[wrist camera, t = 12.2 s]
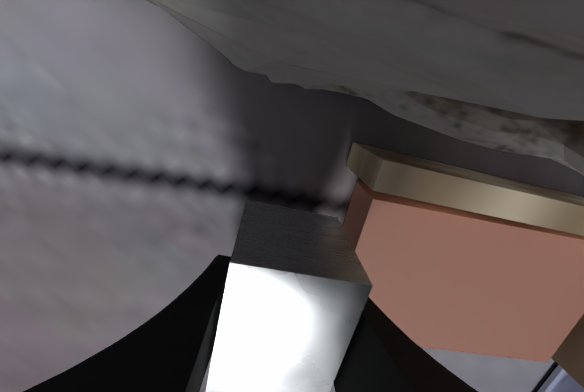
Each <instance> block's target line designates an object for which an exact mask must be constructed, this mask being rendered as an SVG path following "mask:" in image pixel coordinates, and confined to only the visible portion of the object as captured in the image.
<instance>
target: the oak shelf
mask: <svg viewBox="0 0 584 392" xmlns="http://www.w3.org/2000/svg"><path fill="white" fill-rule="evenodd" d="M346 166H347V167H349V168H350V169H351V170H352V171H353V172H354V173H355V174H356V175H357V176H358V177H359V178H360V179H361V180H362V181H363V182H364V183H365V184H366V185H367V186H368V187H369V188H370V189H371V190H372V191H377V192H381V193H386V194H391V195H395V196H400V197H405V198H409V199H414V200H419V201H423V202H428V203H433V204H437V205H442V206H446V207H451V208H456V209H460V210H465V211H470V212H474V213H479V214H484V215H488V216H493V217H498V218H502V219H507V220H512V221H516V222H521V223H526V224H530V225H535V226H540V227H544V228H549V229H554V230H558V231H563V232H568V233H572V234H577V235H582V236H584V197H581V196H577V195H573V194H569V193H565V192H561V191H556V190H552V189H548V188H544V187H540V186H535V185H531V184H527V183H523V182H519V181H514V180H510V179H506V178H502V177H498V176H493V175H489V174H485V173H481V172H477V171H472V170H468V169H464V168H460V167H456V166H452V165H447V164H443V163H439V162H435V161H431V160H426V159H422V158H418V157H414V156H410V155H405V154H401V153H397V152H393V151H389V150H384V149H380V148H376V147H372V146H368V145H363V144H359V143H355V142H353V144H352V147H351V150H350V153H349V157H348V160H347V163H346ZM551 358H552V359H553V360H554V361H555V362H556V363H557V364H558V365H559V366H561V367H562V368H563V369H564V370H565V371H566V372H567V373H568V374H569V375H570V376H571V377H572V378H573V379H574V380H575V381H576V382H577V383H579V384H580V385H581V386H582V387H583V388H584V314H583V315H582V317H581V318H580V319H579V321H578V322H577V323H576V325H575V326H574V327H573V329H572V330H571V331H570V333H569V334H568V335H567V337H566V338H565V340H564V341H563V342H562V344H561V345H560V346H559V348H558V349H557V350H556V352H555V353H554V354H553V356H552V357H551Z"/></svg>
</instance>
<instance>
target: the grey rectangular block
mask: <svg viewBox="0 0 584 392" xmlns="http://www.w3.org/2000/svg"><path fill="white" fill-rule="evenodd" d="M372 287H373V285H372V283H371V281H370V279H369V277H368V275H367V273H366V271H365V270H364V268H363V266H362V264H361V262H360V260H359V258H358V256H357V254H356V252H355V250H354V248H353V246H352V244H351V243H350V241H349V239H348V237H347V235H346V233H345V231H344V229H343V227H342V225H341V223H340V221H339V219H338V217H332V216H327V215H322V214H317V213H312V212H307V211H302V210H297V209H291V208H286V207H281V206H276V205H271V204H266V203H261V202H256V201H251V200H246V203H245V207H244V211H243V214H242V218H241V222H240V226H239V229H238V233H237V237H236V241H235V245H234V248H233V252H232V256H231V260H230V264H229V269H228V274H227V280H226V285H225V290H224V296H223V301H222V307H221V312H220V317H219V323H218V328H217V333H216V339H215V344H214V349H213V355H212V360H211V366H210V371H209V376H208V382H207V387H206V392H330V389H331V387H332V384H333V382H334V380H335V377H336V375H337V372H338V370H339V367H340V365H341V362H342V360H343V358H344V355H345V353H346V350H347V348H348V345H349V343H350V340H351V338H352V336H353V333H354V331H355V328H356V326H357V323H358V321H359V318H360V316H361V313H362V311H363V309H364V306H365V304H366V301H367V299H368V296H369V294H370V291H371V289H372Z"/></svg>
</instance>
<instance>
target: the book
mask: <svg viewBox="0 0 584 392" xmlns="http://www.w3.org/2000/svg"><path fill="white" fill-rule="evenodd" d="M342 227H343V229H344V231H345V233H346V235H347V237H348V239H349V241H350V243H351V244H352V246H353V248H354V250H355V252H356V254H357V256H358V258H359V260H360V262H361V264H362V266H363V268H364V270H365V271H366V273H367V275H368V277H369V279H370V281H371V283H372V285H373V287H372V289H371V291H370V294H369V296H368V297H369V298H370V299H371V300H372V301H373V302H374V303H375V304H376V305H377V306H378V307H379V308H380V309H381V310H382V311H383V312H384V314H385V315H386V316H387V317H388V318H389V319H390V320H391V321H392V322H393V323H394V324H395V325H396V326H398V327H399V328H400V329H401V330H402V331H403V332H404V333H405V334H406V335H407V336H408V337H409V338H410V339H411V340H412V341H414V342H415V343H416V344H417V345H418V346H419V347H426V348H434V349H443V350H451V351H459V352H467V353H476V354H484V355H492V356H501V357H509V358H517V359H525V360H534V361H542V362H548V361H549V360H550V358H551V357H552V356H553V354H554V353H555V352H556V350H557V349H558V348H559V346H560V345H561V344H562V342H563V341H564V340H565V338H566V337H567V335H568V334H569V333H570V331H571V330H572V329H573V327H574V326H575V325H576V323H577V322H578V321H579V319H580V318H581V317H582V315H583V314H584V236H582V235H577V234H572V233H568V232H563V231H558V230H554V229H549V228H544V227H540V226H535V225H530V224H526V223H521V222H516V221H512V220H507V219H502V218H498V217H493V216H488V215H484V214H479V213H474V212H470V211H465V210H460V209H456V208H451V207H446V206H442V205H437V204H433V203H428V202H423V201H419V200H414V199H409V198H405V197H400V196H395V195H391V194H386V193H381V192H377V191H372V190H371V189H370V188H369V187H368V186H367V185H366V184H365V183H361V182H356V185H355V188H354V191H353V194H352V197H351V201H350V204H349V207H348V210H347V213H346V217H345V220H344V223H343V226H342Z"/></svg>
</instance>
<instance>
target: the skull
mask: <svg viewBox="0 0 584 392" xmlns="http://www.w3.org/2000/svg"><path fill="white" fill-rule="evenodd" d="M147 1H149V2H151V3H153V4H155V5H157V6H158V7H160V8H162V9H163V10H165V11H166V12H167V13H169V14H170V15H171V16H173V17H174V18H175V19H177V20H178V21H179V22H181V23H182V24H183V25H185V26H186V27H187V28H189V29H190V30H191V31H193V32H194V33H195V34H197V35H198V36H199V37H201V38H202V39H203V40H204V41H206V42H207V43H208V44H210V45H211V46H212V47H214V48H215V49H216V50H218V51H219V52H220V53H222V54H223V55H224V56H226V57H227V58H228V59H229V60H230V62H231V63H232V64H233V65H235V66H237V67H239V68H240V69H242V70H244V71H247V72H254V73H260V74H265V75H266V76H267V77H268V78H269V79H270V81H271V82H272V83H287V84H297V85H299V86H301V87H303V88H305V89H325V90H327V91H336V92H341V93H345V94H349V95H353V96H357V97H361V98H365V99H368V100H370V101H371V102H373V103H375V104H376V105H378V106H379V107H381V108H383V109H384V110H386V111H388V112H389V113H391V114H393V115H395V116H397V117H400V118H403V119H405V120H408V121H411V122H413V123H416V124H419V125H421V126H424V127H427V128H429V129H432V130H435V131H437V132H440V133H443V134H445V135H448V136H451V137H453V138H456V139H459V140H461V141H465V142H468V143H472V144H476V145H479V146H483V147H487V148H490V149H494V150H497V151H501V152H508V153H515V154H521V155H528V156H535V157H542V158H549V159H552V160H554V161H556V162H558V163H560V164H563V165H565V166H567V167H569V168H571V169H573V170H575V171H577V172H579V173H581V174H582V175H583V176H584V0H147Z"/></svg>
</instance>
